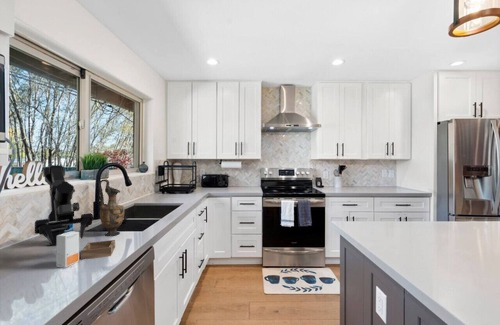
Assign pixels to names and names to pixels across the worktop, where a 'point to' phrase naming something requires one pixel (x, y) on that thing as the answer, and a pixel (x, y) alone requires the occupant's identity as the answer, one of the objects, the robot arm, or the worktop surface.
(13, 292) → the worktop surface
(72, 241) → the skincare box
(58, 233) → the robot arm
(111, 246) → the walnut holder
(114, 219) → the vase
